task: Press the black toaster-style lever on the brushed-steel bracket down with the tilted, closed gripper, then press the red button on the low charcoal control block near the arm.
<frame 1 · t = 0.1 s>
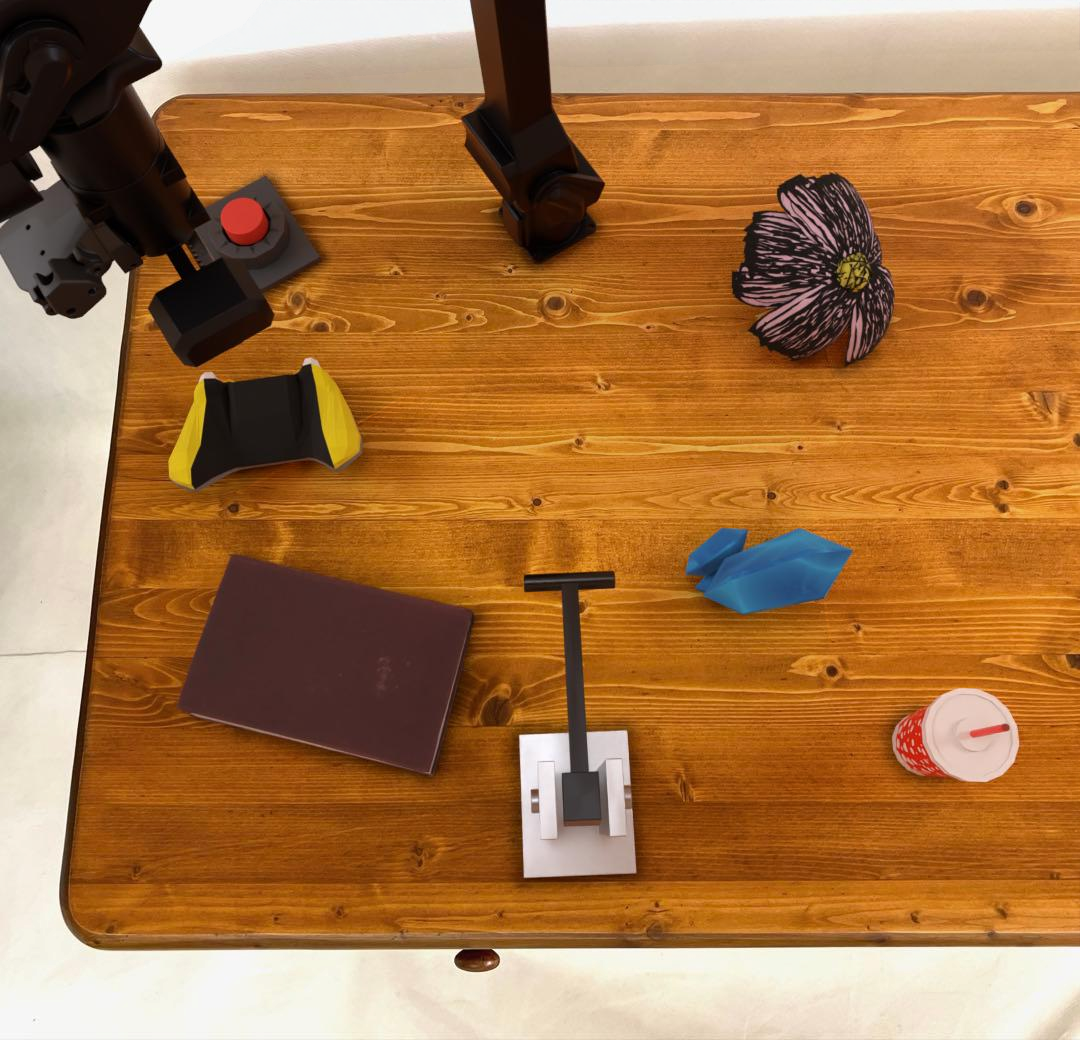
hand: (205, 294, 68), 15 cm above the table, tool pointing down, fingers open, 9 cm apart
book: (335, 666, 75), on the table
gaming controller: (276, 440, 81), on the table
crystal: (753, 579, 77), on the table
control block: (255, 241, 86), on the table
decorative flower: (805, 306, 84), on the table
lever: (575, 691, 61), point 13 cm above the table, hinge at -8.0°
button: (244, 221, 83), point 3 cm above the table, slide at 0.1 cm
bracket: (576, 802, 72), on the table
beverage cup: (922, 744, 73), on the table
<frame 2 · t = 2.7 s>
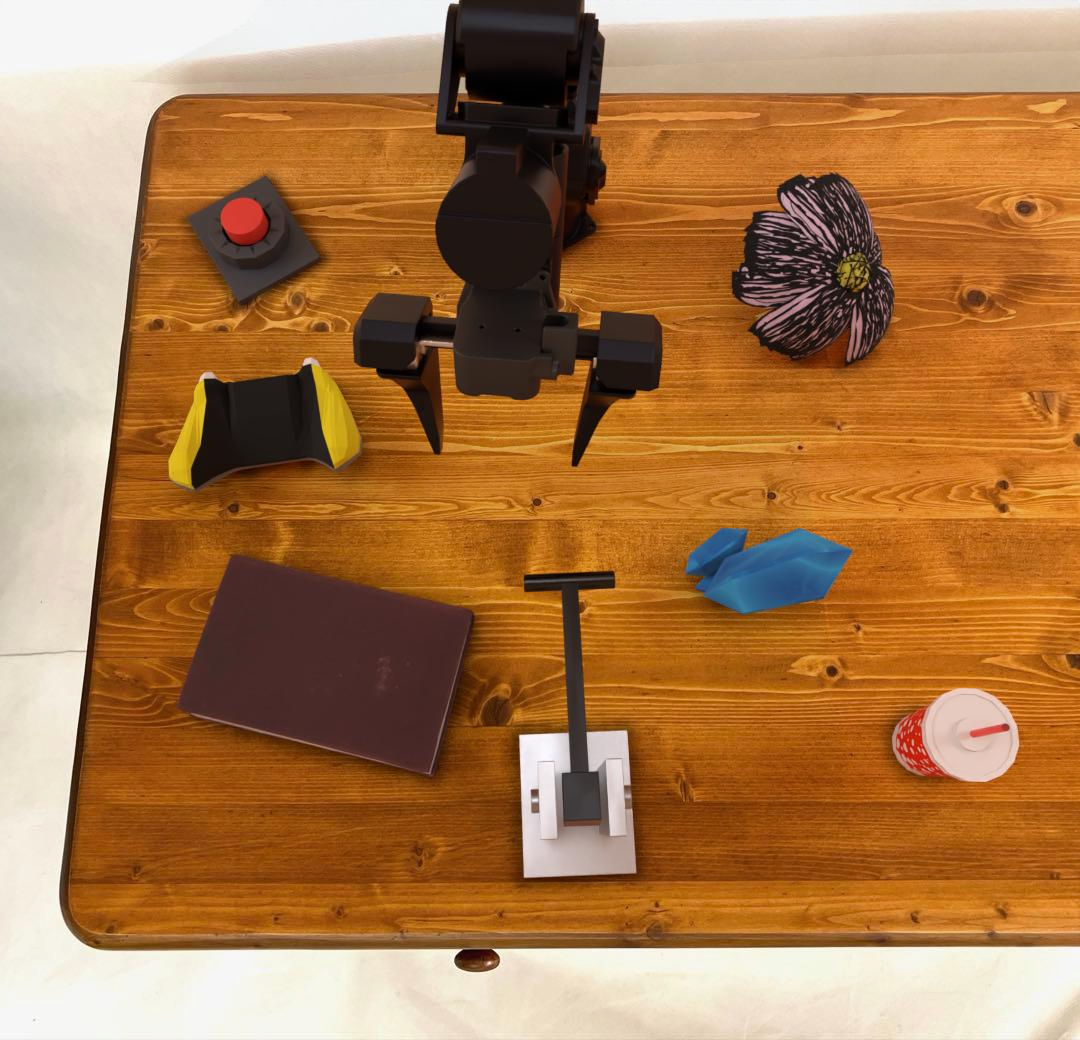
hand: (506, 457, 66), 13 cm above the table, tool tilted 40°, fingers open, 9 cm apart
nothing on the table moved.
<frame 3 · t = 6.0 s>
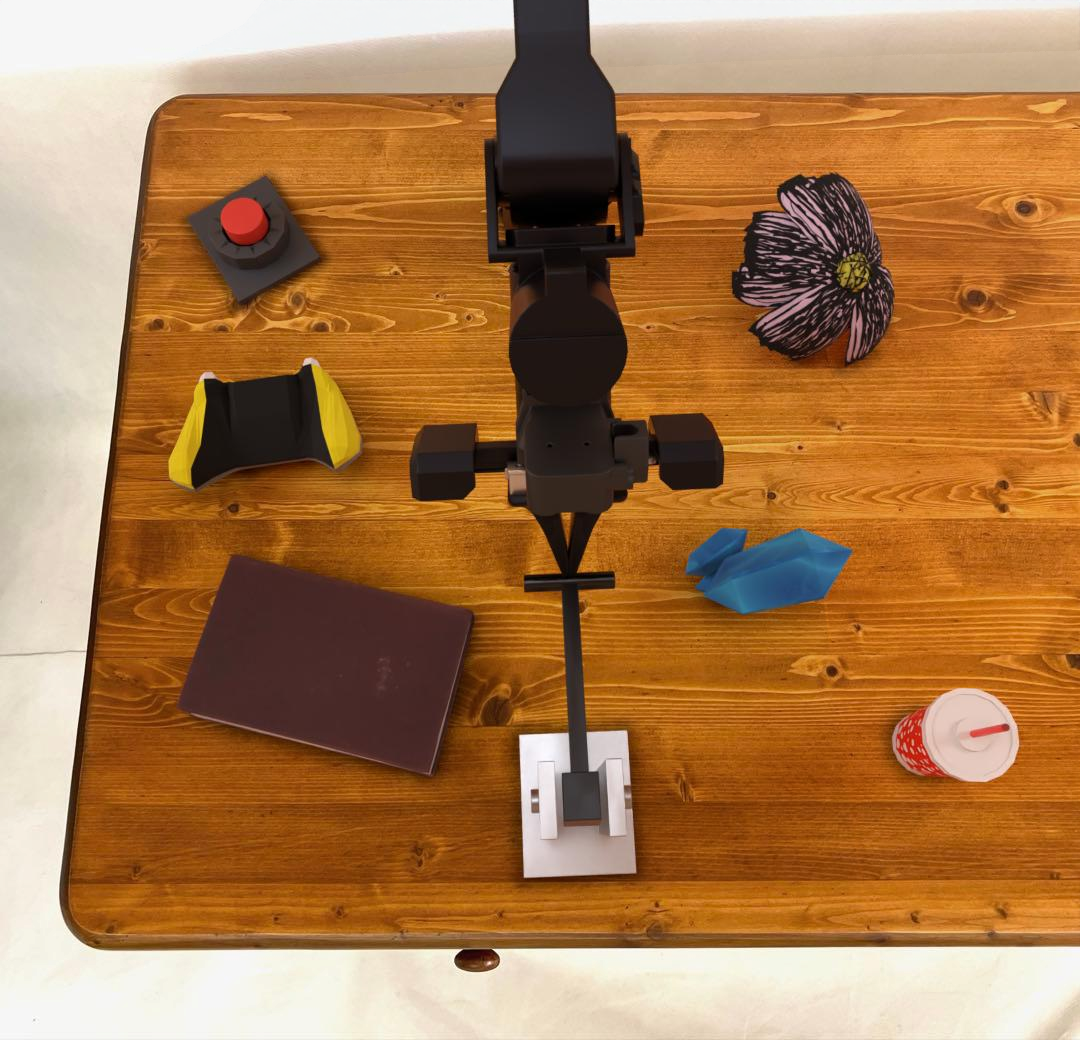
hand: (568, 574, 64), 12 cm above the table, tool tilted 45°, fingers closed, pressing on lever
lever: (575, 691, 61), point 13 cm above the table, hinge at -8.3°, touching gripper
everything else where it was.
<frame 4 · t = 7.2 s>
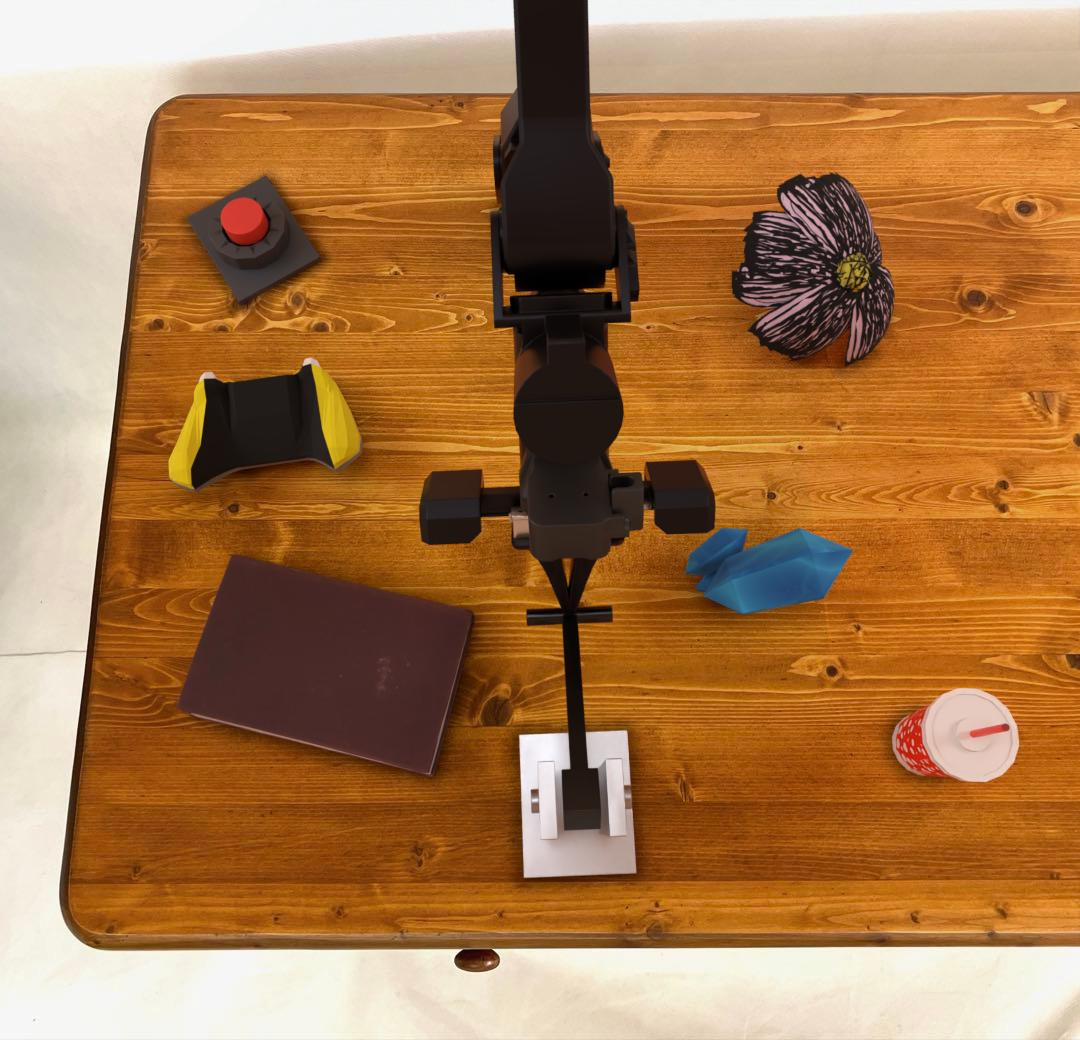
hand: (569, 610, 68), 8 cm above the table, tool tilted 45°, fingers closed, pressing on lever
lever: (575, 705, 63), point 11 cm above the table, hinge at -27.1°, touching gripper
everything else where it was.
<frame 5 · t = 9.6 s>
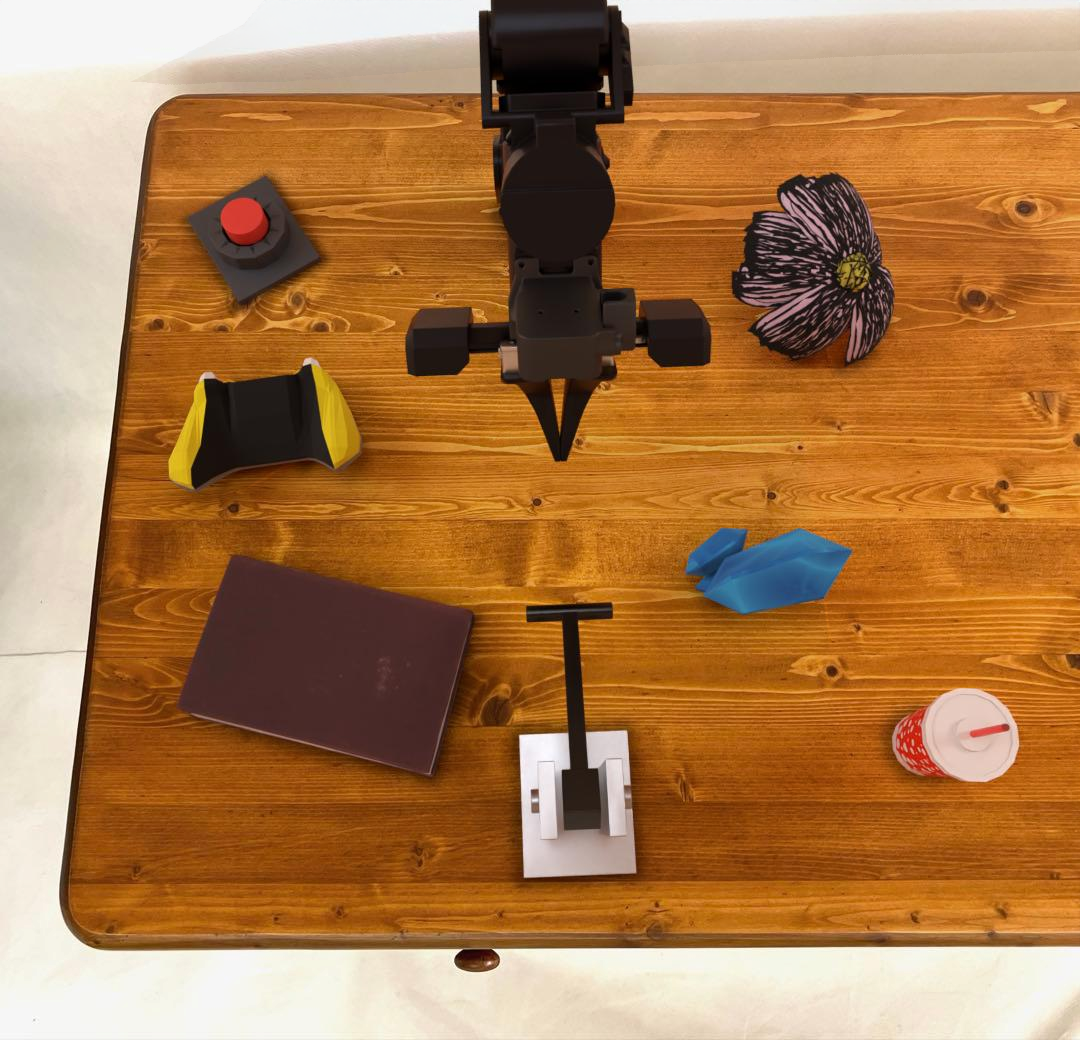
hand: (560, 459, 66), 13 cm above the table, tool tilted 45°, fingers closed
lever: (575, 704, 63), point 11 cm above the table, hinge at -25.6°
everything else where it was.
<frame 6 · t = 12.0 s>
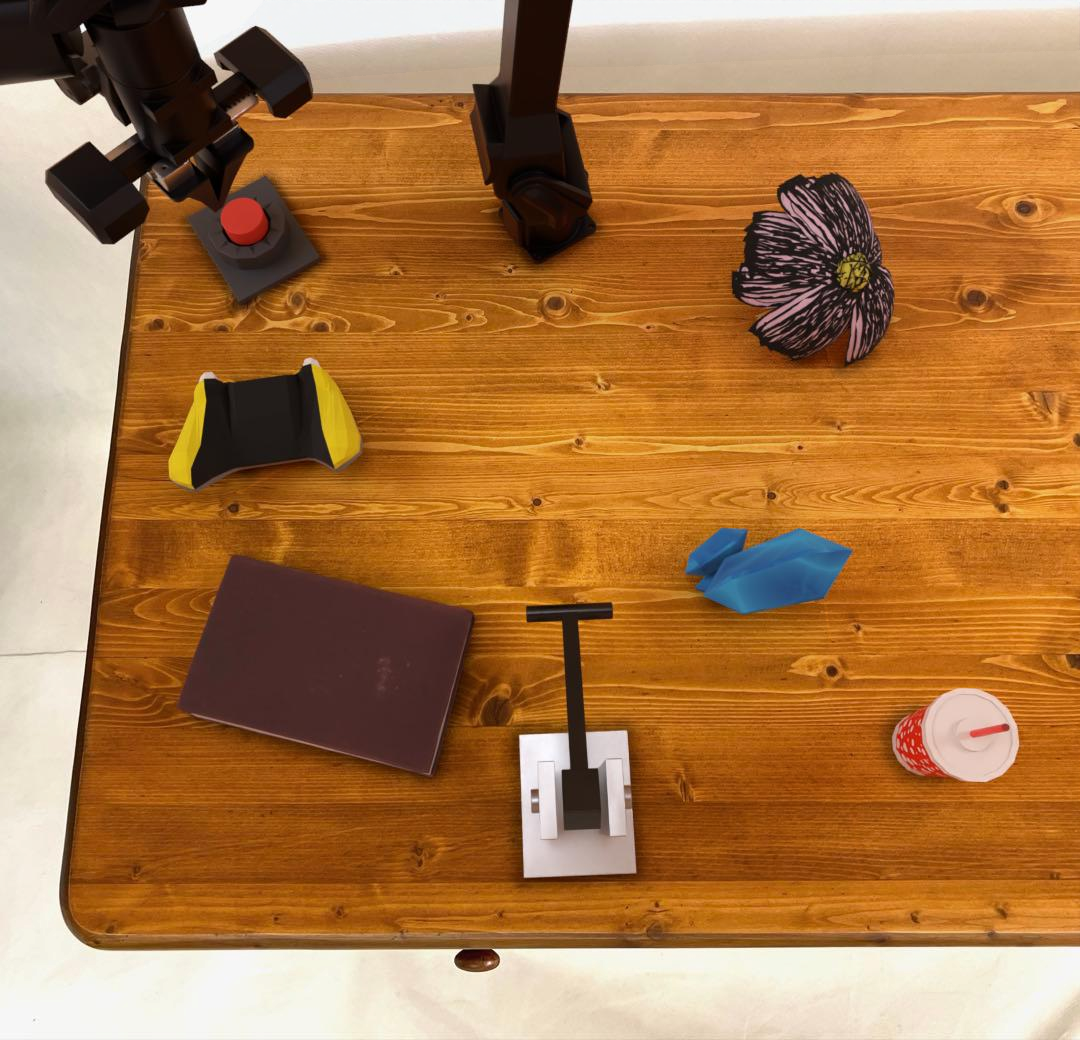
hand: (215, 206, 75), 10 cm above the table, tool pointing down, fingers closed
nothing on the table moved.
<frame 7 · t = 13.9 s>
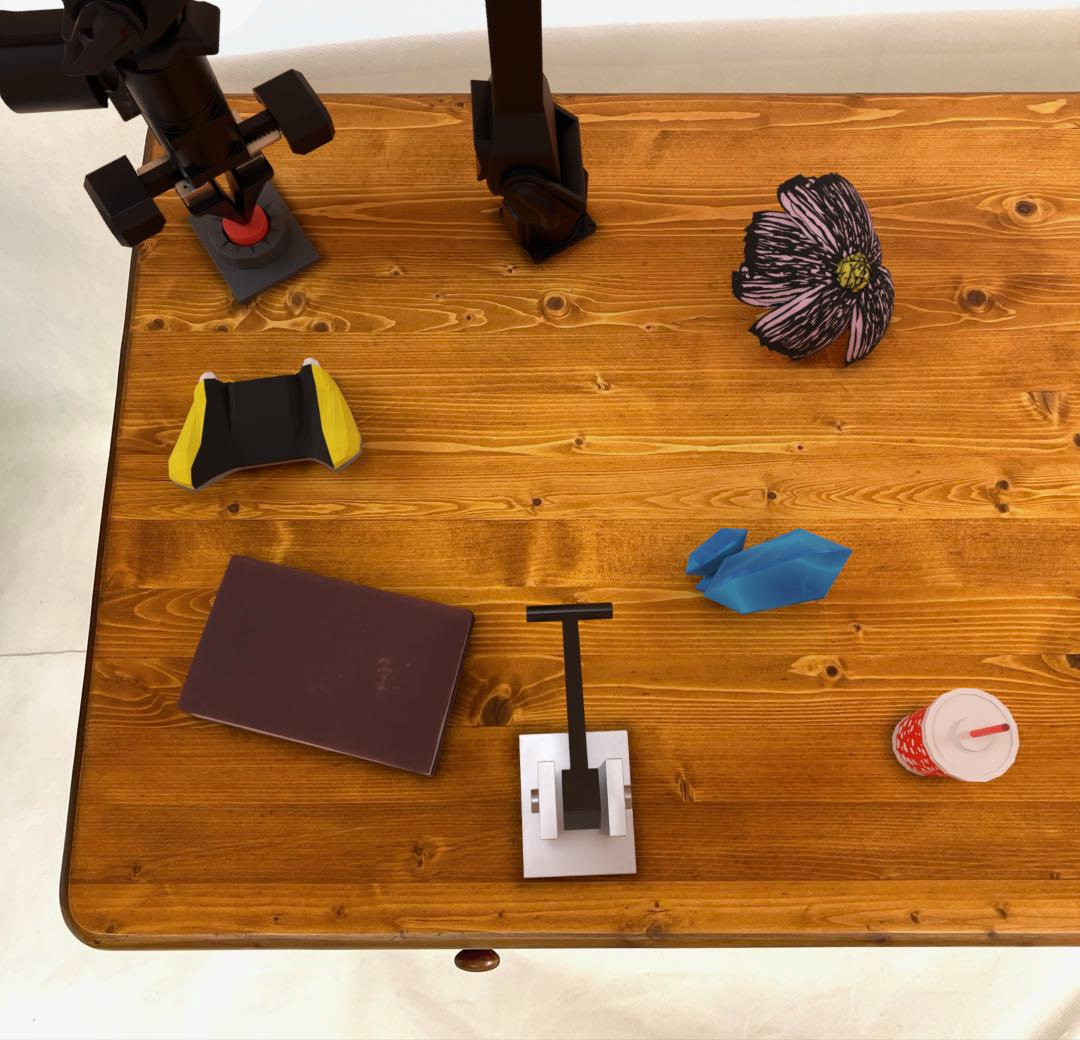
hand: (244, 219, 83), 3 cm above the table, tool pointing down, fingers closed, pressing on button
button: (246, 225, 84), point 2 cm above the table, slide at -0.5 cm, touching gripper
everything else where it was.
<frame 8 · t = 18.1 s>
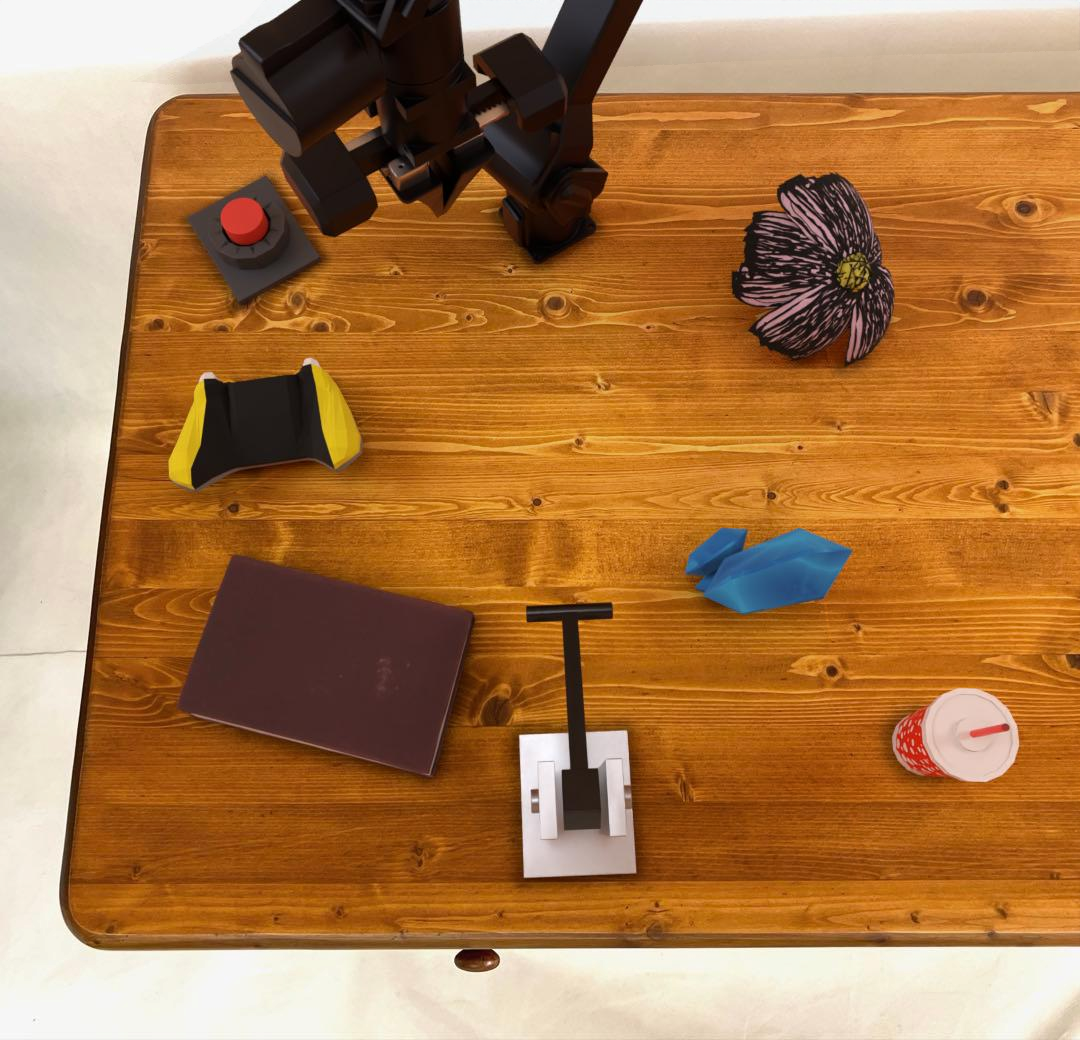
hand: (438, 210, 72), 13 cm above the table, tool pointing down, fingers closed
button: (244, 221, 83), point 3 cm above the table, slide at 0.1 cm
everything else where it was.
at the end: lever at -26° (first picture: -8°); button pushed in 1.1 cm at the most during the clip, back to where it started at the end; button slide at 0.1 cm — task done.
